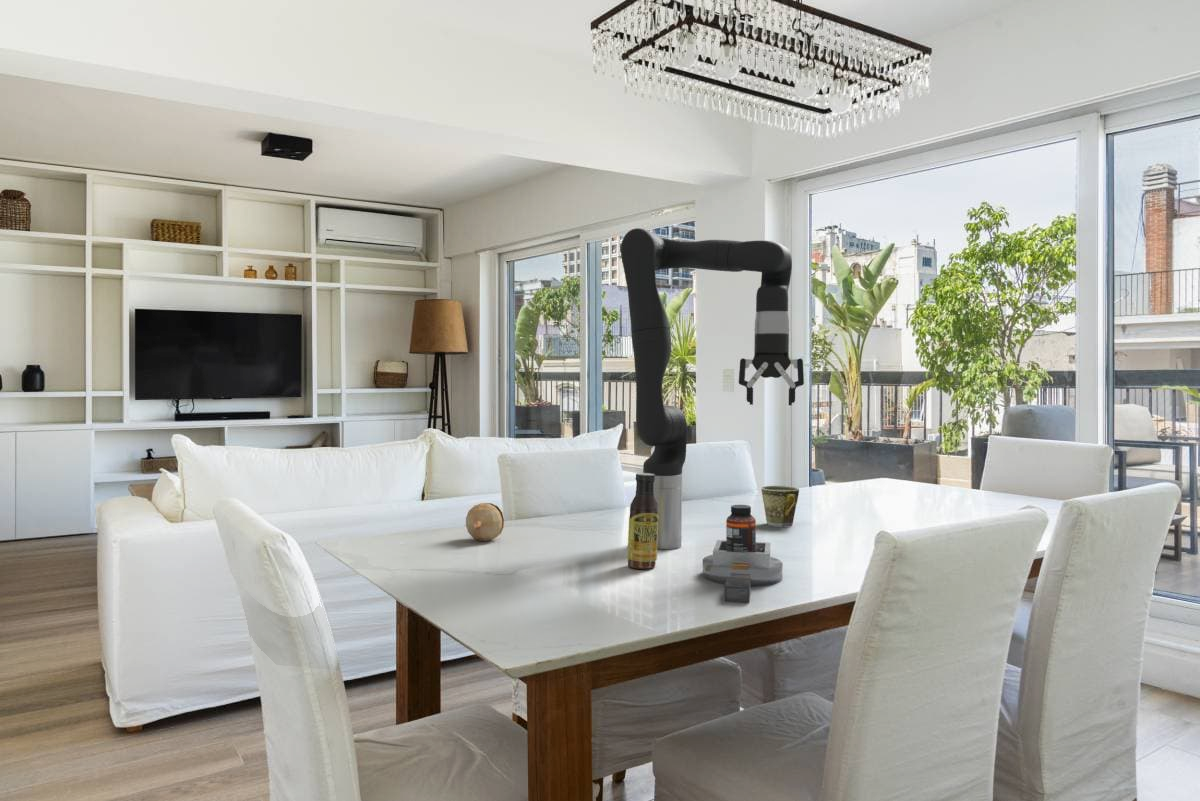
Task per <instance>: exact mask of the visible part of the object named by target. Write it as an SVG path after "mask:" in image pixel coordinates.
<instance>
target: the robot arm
mask: <svg viewBox="0 0 1200 801" xmlns="http://www.w3.org/2000/svg"><path fill="white" fill-rule="evenodd" d="M620 256H621V262H622V267H623V271H624V275H625V277H624V278H625V282H626V287H627V288H626V289H627V298H628V310H629V320H630V333H631V335H630V336H631V345H632V351H633V360H634V371H635V372H634V373H635V374H634V375H635V386H636V388H635V389H636V390H635V391H636V393H635V394H636V396H635V397H636V398H635V400H636V401H635V402H636V403H635V406H636V408H635V410H636V411H635V412H636V414H635V415H636V416H635V417H636V419H635V420H636V423H635V424H636V430H637V434H638V436H639V438H640V440H641V441H642V443H643V444H646V445H647V446H650V447H654V450H653V452H652V454H651V456H649V457H648V458H647V459H646V460H644V462H643V464H642V468H643V469H642V473H650V474H655V481H654V497H655V500H656V502H657V504H658V537H657V550H671V549H679V548H681V547H682V537H683V536H682V535H683V534H682V533H683V532H682V530H683V528H682V526H683V525H682V523H683V515H682V513H683V500H682V499H683V466H684V464H685V462H686V459H687V458H686V457H687V441H688V424H687V418H686V416H685V414H684V412H683V411H682V410H681V409H680V407H677V406H674V405H664V403H665V402H664V397H663V396H664V395H663V382H664V377H665V374H666V370H667V368H668V365H669V362H670V358H671V354H672V336H671V327H670V321H669V318H668V315H667V312H666V308H665V305H664V303H663V301H662V298H661V296H660V293H659V289H658V285H657V280H656V279H657V278H656V271H659V270H661V271H662V270H669V269H697V270H704V271H705V270H706V271H707V270H708V271H718V272H732V273H735V272H736V273H737V272H739V273H740V272H743V271H745V272H746V271H747V272H757V273H761V276H760V277H761V279H760V280H761V281H760V287H758V289H757V290H756V295H755V296H756V297H755V298H756V299H755V300H756V301H755V304H756V305H755V320H754V347H753V348H754V350H753V352H754V356H753V358H752V359H749V358H748V359H747V358H741V359H740V360H739V371H738V372H739V373H738V384H739V385H740V386H743V387H745V388H746V402H747V403H749V406H753V405H754V388H753V386H754V384H756V382H757V381H758V380H759V378H760V377H762V378H766V379H767V378H775V379H779V378H781V377H782V378H783V379H784V380H785V382H786V383H787V385H788V386H789V388H788V406H793V404H794V403H795V401H796V389H797V388H798V387H801V386H804V385H805V378H804V360H803V359H802V358H796V359H790V355H789V350H790V349H789V348H790V347H789V346H790V345H789V344H790V320H789V319H790V318H789V288H790V284H791V282H790V281H791V276H792V271H793V269H792V268H793V260H792V255H791V252H790V250H789V248H787V247H786V246H785V245H783V244H780V243H779V242H777V241H774V240H746V241H741V240H734V239H733V240H732V239H729V240H728V239H705V240H698V241H679V240H674V239H669V238H666V237H665V238H664V237H660V236H659V235H657V233H654V232H652V231H650V230H647V229H644V228H641V227H640V228H638V227H636V228H633V229H630V230H629V231H627V233H626V234H625V235H624V237H623V238H622V240H621V244H620ZM750 365H752V366H753V368H755V370H756V371H755V373H754V374H753V375H752V377H751V378H750V379H749V380H748V381H747V380H746V369H748V368H749V367H750ZM791 365H793V368H794V369H797V380H796V381H794V380H793V379H792V378H791V377H790V375H789V374H788V373H787V370H788V369H789V367H790V366H791Z"/></svg>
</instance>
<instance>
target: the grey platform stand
mask: <svg viewBox="0 0 1200 801" xmlns="http://www.w3.org/2000/svg"><path fill="white" fill-rule="evenodd" d="M783 564H784V563H783V562H782V561H781V560H780V559H778V558H776V557H773V556H771V542H768V541H765V542H762V541H756V552H742V551H726V539H725V540H723V539H722V540H721V539H717V540H716V542H715V545H714V547H713V550H712V554H710V555H707V556H705V557H703V558H702V577H703V578H704V579H706V580H708V581H710V582H712V583H713V582H714V583H718V584H722V585H724V602H729V603H745V604H746V603H747V604H750V602H751V600H750V599H751V595H752V594H751V593H752V587H764V586H771V585H774V584H778V583H780V582H781V581H782V580H783V569H784V568H783Z"/></svg>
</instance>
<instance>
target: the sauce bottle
mask: <svg viewBox="0 0 1200 801" xmlns="http://www.w3.org/2000/svg"><path fill="white" fill-rule="evenodd" d="M635 480H636V481H635V482H636V486H635V487H636V488H635V496H634V497H633V499H632V500H631V503H630V507H629V517H628V533H627V535H628V536H627V566H628V567H629V568H631V569H638V570H649V569H650V570H651V569H654V568H655V567H656V564H657V563H656V561H657V560H658V549H657V537H658V504H657V502H656V500H655V497H654V481H655V474H650V473H643V472H638V473H636V474H635Z"/></svg>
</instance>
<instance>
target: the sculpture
mask: <svg viewBox="0 0 1200 801" xmlns="http://www.w3.org/2000/svg"><path fill="white" fill-rule="evenodd" d="M465 527H466V530H467V533H468V534H469V535H470V537H471V538H473V539H475V540H476V541H481V542H489V541H493V540H494V539H496V538H497V537H498V536H499V535H501V534H502V532H503V530H504V527H505V517H504V514H503V511H502V510H501V509H500V507H499V506H497V505H496V504H493V503H490V502H489V503H488V502H487V503H486V502H480V503H477V504H474V506H472V507H471V508H470V509H468V512H467V514H466V517H465Z"/></svg>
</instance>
